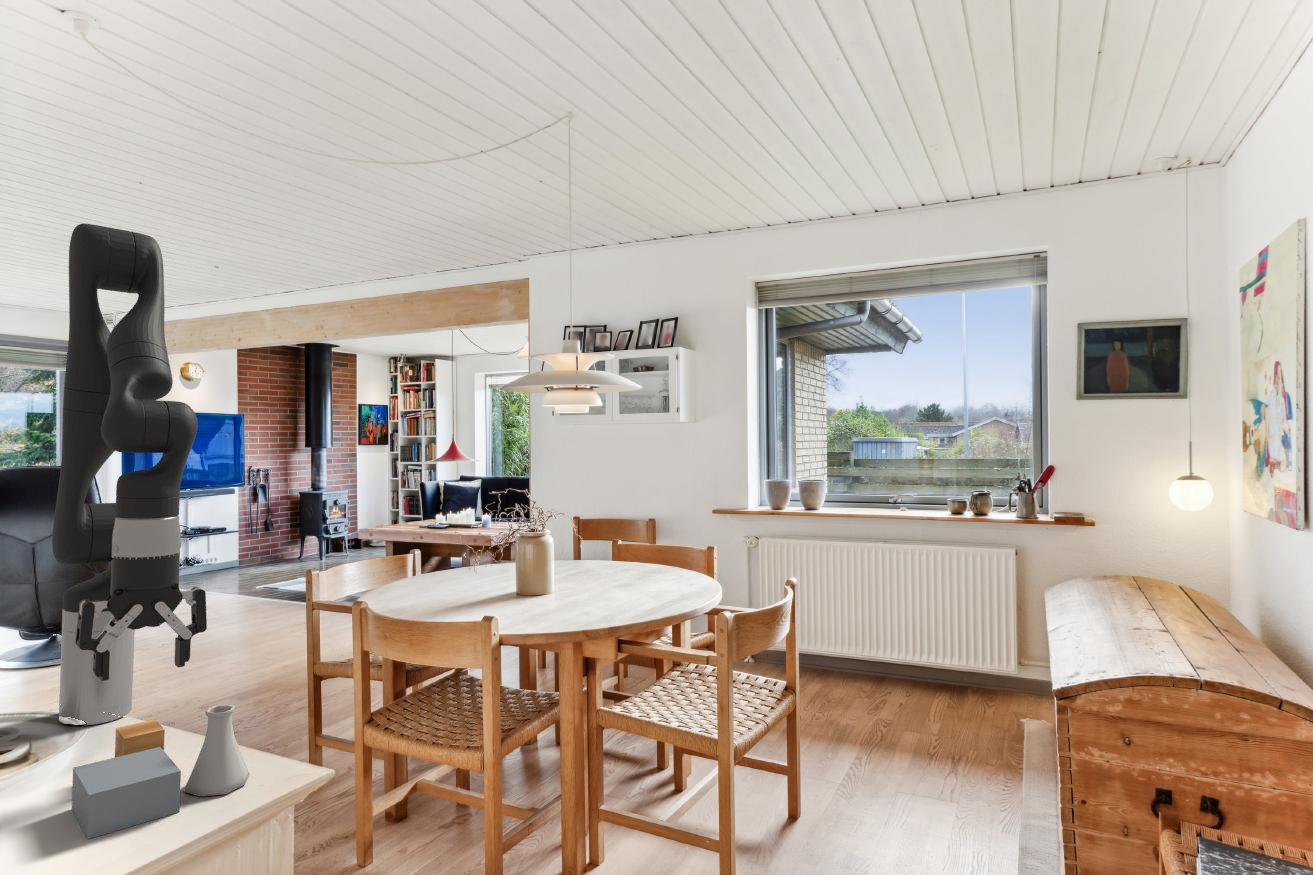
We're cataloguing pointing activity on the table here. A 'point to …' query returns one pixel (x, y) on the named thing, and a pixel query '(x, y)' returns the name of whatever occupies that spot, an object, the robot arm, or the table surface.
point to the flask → (218, 757)
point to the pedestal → (125, 791)
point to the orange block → (138, 737)
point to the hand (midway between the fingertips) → (142, 672)
